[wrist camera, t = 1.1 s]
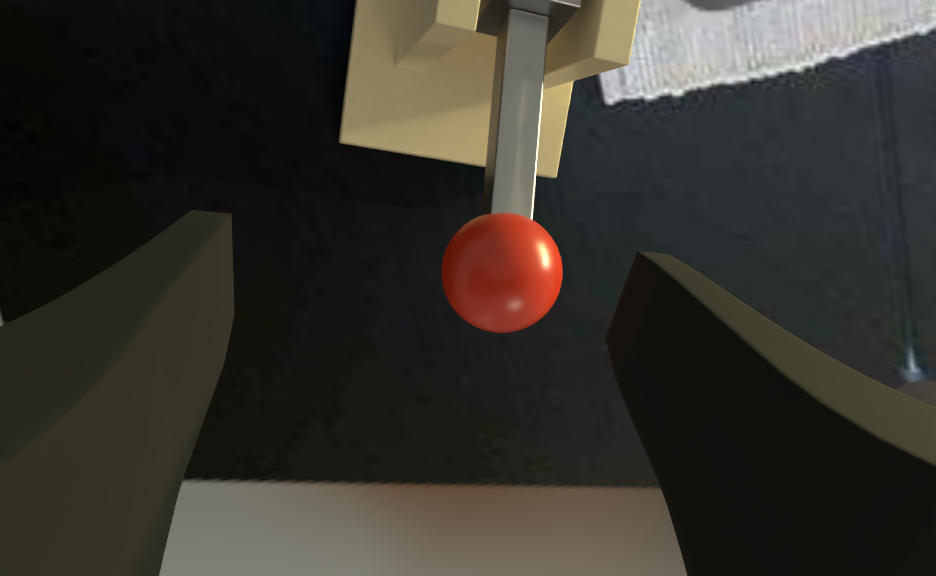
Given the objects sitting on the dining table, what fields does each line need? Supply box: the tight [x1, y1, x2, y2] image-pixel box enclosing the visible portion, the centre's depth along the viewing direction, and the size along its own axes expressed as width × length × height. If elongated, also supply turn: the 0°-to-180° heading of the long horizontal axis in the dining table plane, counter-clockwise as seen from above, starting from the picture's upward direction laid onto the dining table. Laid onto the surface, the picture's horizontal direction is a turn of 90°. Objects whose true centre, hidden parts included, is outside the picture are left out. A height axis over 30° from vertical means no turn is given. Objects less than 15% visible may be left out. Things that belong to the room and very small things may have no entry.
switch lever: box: [442, 0, 582, 333], centre depth 17 cm, size 11×3×3 cm, turn 171°
